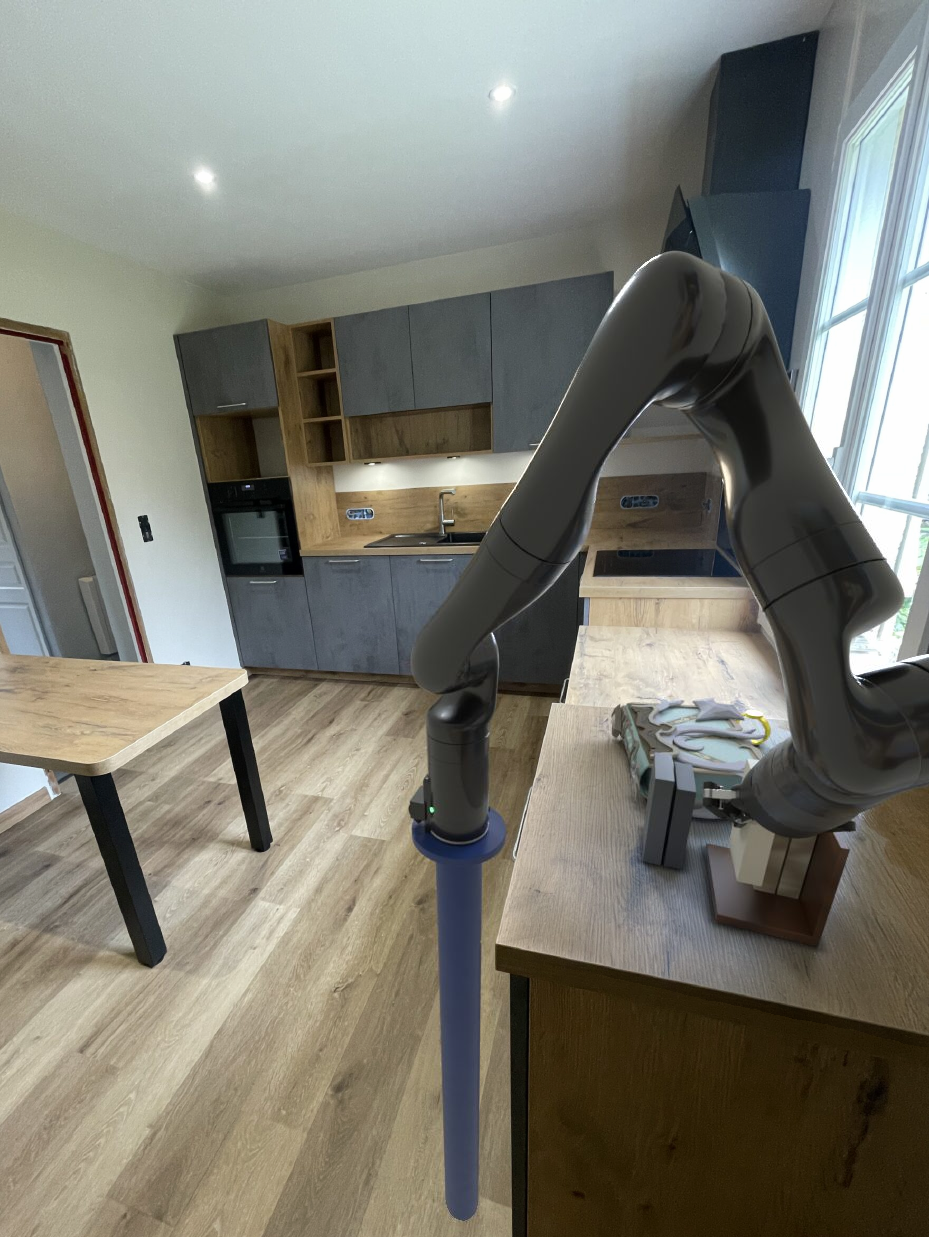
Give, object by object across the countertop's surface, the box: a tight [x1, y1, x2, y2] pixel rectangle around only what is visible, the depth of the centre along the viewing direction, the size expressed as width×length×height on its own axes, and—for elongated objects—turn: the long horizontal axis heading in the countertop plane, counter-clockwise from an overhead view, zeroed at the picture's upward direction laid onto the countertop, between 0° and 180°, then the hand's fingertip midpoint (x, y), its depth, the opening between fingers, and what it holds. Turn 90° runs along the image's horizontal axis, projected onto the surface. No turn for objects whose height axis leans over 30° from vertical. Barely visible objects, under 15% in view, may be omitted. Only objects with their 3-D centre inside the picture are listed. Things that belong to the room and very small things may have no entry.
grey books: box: [642, 752, 696, 870], centre depth 71 cm, size 5×7×13 cm
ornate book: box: [610, 696, 767, 820], centre depth 89 cm, size 23×10×30 cm
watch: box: [736, 709, 772, 746], centre depth 99 cm, size 6×3×6 cm, turn 32°
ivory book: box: [728, 759, 775, 886], centre depth 60 cm, size 2×7×12 cm, turn 159°
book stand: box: [704, 832, 851, 948], centre depth 63 cm, size 10×13×13 cm
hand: (751, 821), depth 61 cm, fingers closed on ivory book, 2 cm apart
